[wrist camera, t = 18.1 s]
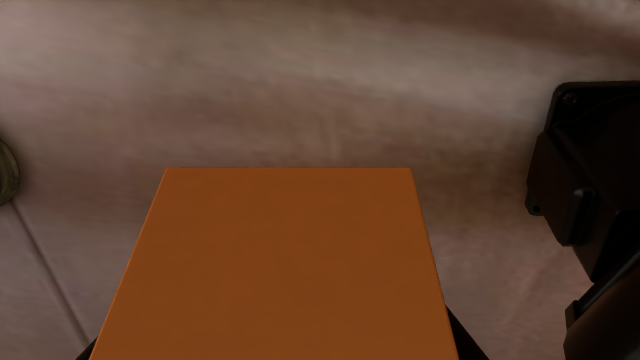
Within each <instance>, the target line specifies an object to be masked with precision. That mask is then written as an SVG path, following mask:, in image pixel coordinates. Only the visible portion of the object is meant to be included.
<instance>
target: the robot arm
mask: <svg viewBox="0 0 640 360" xmlns="http://www.w3.org/2000/svg"><path fill="white" fill-rule="evenodd" d="M571 92H572V95H571V97H569V98H568V99H563V97H564V96H565V95H566V94H567V93H571ZM526 184H527V186H528V188H529V189H528V193H527V197H526V201H525V206H526V208H527V210H528V212H529V213H530V214H531V215H535V216H544V217H545V219H546V221H547V223H548V225H549V227H550V228H551V230H552V232H553V234H554V236H555V238H556V240H557V241H558V242H559V243H560V244H561V245H562V246H563V247H566V246H571V247H572V248H573V250H574V252H575V254H576V256H577V257H578V259H579V261H580V263H581V264H582V266H583V268H584V270H585V272H586V273H587V275H588V277H589V279H590V280H591V281H592V282H593V283H595V284H594V285H593V286H592V287H591V288H590V289H589V290H588V291H587V292H586V293H585V294H584V295H583V296H582V297H581V298H580V299H579V300H574V301H573V302H572V303H571V304H570V305H569V306H568V307H567V308H566V309H565V317H566V327H567V334H566V337H565V341H564V344H563V347H564V353H565V359H566V360H640V81H601V82H567V83H563V84H561V85H560V86H558V87H557V88H556V89H555V91H554V93H553V96H552V100H551V104H550V108H549V112H548V116H547V120H546V123H545V127H544V131H543V132H541V134H540V135H539V136H538V137H537V141H536V145H535V149H534V153H533V157H532V161H531V165H530V169H529V173H528V177H527V181H526ZM536 204H538V206H534V205H536ZM446 309H447V313H448V317H449V321H450V325H451V329H452V333H453V337H454V341H455V345H456V349H457V353H458V357H459V360H489V359H488V357H487V356H486V355H485V354H484V352H483V351H482V350H481V349H480V347H479V346H478V345H477V344H476V342H475V341H474V340H473V339H472V337H471V336H470V335H469V334H468V332H467V331H466V330H465V329H464V327H463V326H462V325H461V324H460V322H459V321H458V320H457V318H456V317H455V316H454V315H453V313H452V312H451V311H450V310H449V308H448V307H447V306H446ZM98 336H99V335H98ZM97 338H98V337H97ZM97 338H96V339H95V340H94V341H93V342H92V343H91V344H90V345H89V346H88V347H87V348H86V349H85V350H84V351H83V352H82V353H81V354H80V355H79V356H78V357H77V359H76V360H89V358H90V356H91V353H92V351H93V348H94V346H95V343H96V341H97Z"/></svg>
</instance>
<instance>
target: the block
mask: <svg viewBox="0 0 640 360" xmlns="http://www.w3.org/2000/svg"><path fill="white" fill-rule="evenodd" d="M89 360H459V357H458V353H457V349H456V345H455V341H454V337H453V333H452V329H451V325H450V321H449V317H448V313H447V309H446V305H445V301H444V297H443V293H442V289H441V285H440V281H439V277H438V273H437V269H436V265H435V262H434V258H433V254H432V250H431V246H430V242H429V238H428V234H427V230H426V226H425V222H424V218H423V214H422V210H421V206H420V202H419V198H418V194H417V190H416V186H415V182H414V178H413V174H412V170H411V168H275V167H168V168H166V170H165V172H164V175H163V177H162V180H161V182H160V185H159V187H158V190H157V192H156V194H155V197H154V199H153V202H152V204H151V207H150V209H149V212H148V214H147V217H146V219H145V222H144V224H143V227H142V229H141V232H140V234H139V237H138V239H137V242H136V244H135V247H134V249H133V252H132V254H131V257H130V259H129V261H128V264H127V266H126V269H125V271H124V274H123V276H122V279H121V281H120V284H119V286H118V289H117V291H116V294H115V296H114V299H113V301H112V304H111V306H110V309H109V311H108V314H107V316H106V319H105V321H104V323H103V326H102V328H101V331H100V333H99V336H98V338H97V341H96V343H95V346H94V348H93V351H92V353H91V356H90V358H89Z"/></svg>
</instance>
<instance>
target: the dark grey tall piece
mask: <svg viewBox="0 0 640 360" xmlns="http://www.w3.org/2000/svg"><path fill="white" fill-rule="evenodd" d="M18 185H19V170H18V166H17V163H16V160H15V158H14V156H13V155H12V153H11V152H10V150H9V148H8V147H7V146H6V145H5V143H4V142H3V141H2V140H1V139H0V206H1V205H3V204H5V203H6V202H7V201H8V200H9V199H10V198H11V197H13V196H14V194H15V192H16V190H17V187H18Z"/></svg>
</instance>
